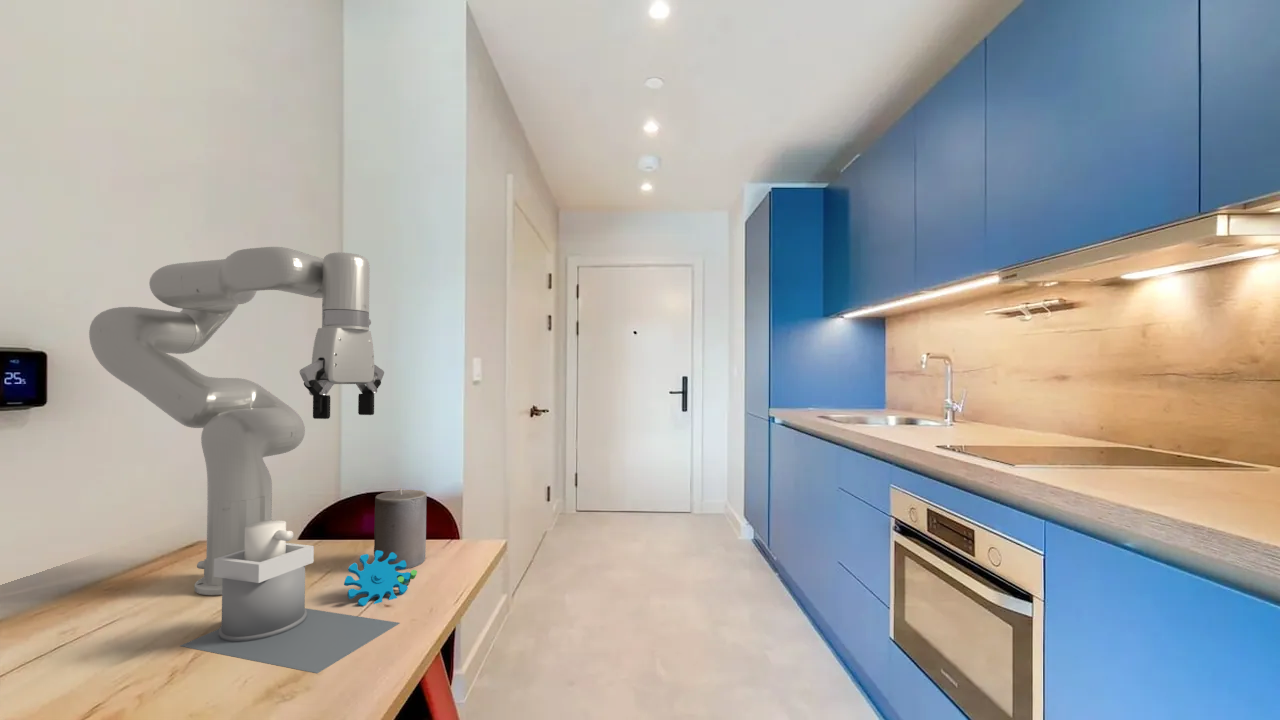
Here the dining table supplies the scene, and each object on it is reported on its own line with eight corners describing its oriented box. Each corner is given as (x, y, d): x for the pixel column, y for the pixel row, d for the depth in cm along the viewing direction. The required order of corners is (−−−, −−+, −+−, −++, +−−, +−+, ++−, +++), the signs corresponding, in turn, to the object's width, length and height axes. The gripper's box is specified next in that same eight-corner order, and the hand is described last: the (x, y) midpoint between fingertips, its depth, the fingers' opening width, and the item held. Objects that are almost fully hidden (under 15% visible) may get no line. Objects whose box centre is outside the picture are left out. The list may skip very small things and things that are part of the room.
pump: (235, 573, 77) (236, 528, 77) (268, 562, 82) (269, 519, 82) (271, 578, 75) (272, 531, 75) (303, 566, 80) (304, 522, 80)
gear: (343, 608, 82) (347, 549, 89) (337, 626, 86) (341, 567, 92) (418, 601, 88) (417, 546, 95) (410, 618, 91) (409, 564, 98)
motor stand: (178, 652, 72) (180, 567, 73) (275, 610, 86) (276, 537, 86) (317, 681, 65) (318, 586, 66) (400, 629, 79) (400, 550, 79)
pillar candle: (362, 567, 105) (363, 490, 106) (401, 552, 114) (402, 481, 115) (399, 574, 101) (400, 495, 102) (436, 558, 110) (437, 485, 111)
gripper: (367, 327, 107) (366, 413, 106) (286, 318, 90) (284, 420, 89) (397, 325, 104) (397, 413, 104) (320, 316, 88) (318, 420, 87)
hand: (344, 416), depth 97 cm, fingers open, 9 cm apart
